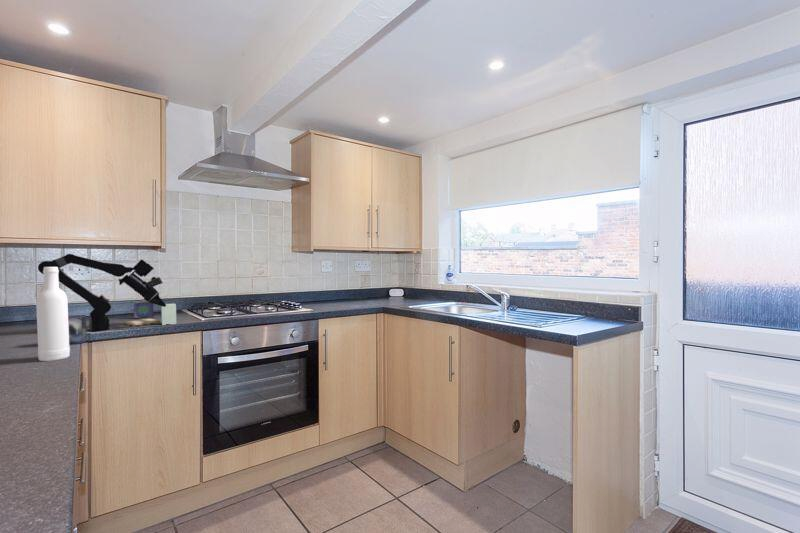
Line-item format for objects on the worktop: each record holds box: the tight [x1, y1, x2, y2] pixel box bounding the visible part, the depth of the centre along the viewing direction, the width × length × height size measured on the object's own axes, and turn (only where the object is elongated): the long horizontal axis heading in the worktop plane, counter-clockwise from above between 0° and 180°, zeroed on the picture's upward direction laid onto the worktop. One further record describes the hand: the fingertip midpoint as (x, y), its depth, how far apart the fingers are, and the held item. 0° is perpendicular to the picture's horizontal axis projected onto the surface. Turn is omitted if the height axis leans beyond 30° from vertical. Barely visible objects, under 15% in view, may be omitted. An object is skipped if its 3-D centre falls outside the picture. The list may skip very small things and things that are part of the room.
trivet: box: [122, 318, 161, 327], centre depth 202 cm, size 12×12×1 cm
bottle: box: [35, 267, 71, 362], centre depth 133 cm, size 8×8×30 cm
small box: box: [68, 314, 88, 346], centre depth 156 cm, size 11×6×10 cm, turn 114°
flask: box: [133, 298, 155, 319], centre depth 221 cm, size 9×3×11 cm, turn 109°
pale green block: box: [160, 302, 177, 326], centre depth 200 cm, size 6×6×10 cm
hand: (164, 305), depth 199 cm, fingers open, 9 cm apart
